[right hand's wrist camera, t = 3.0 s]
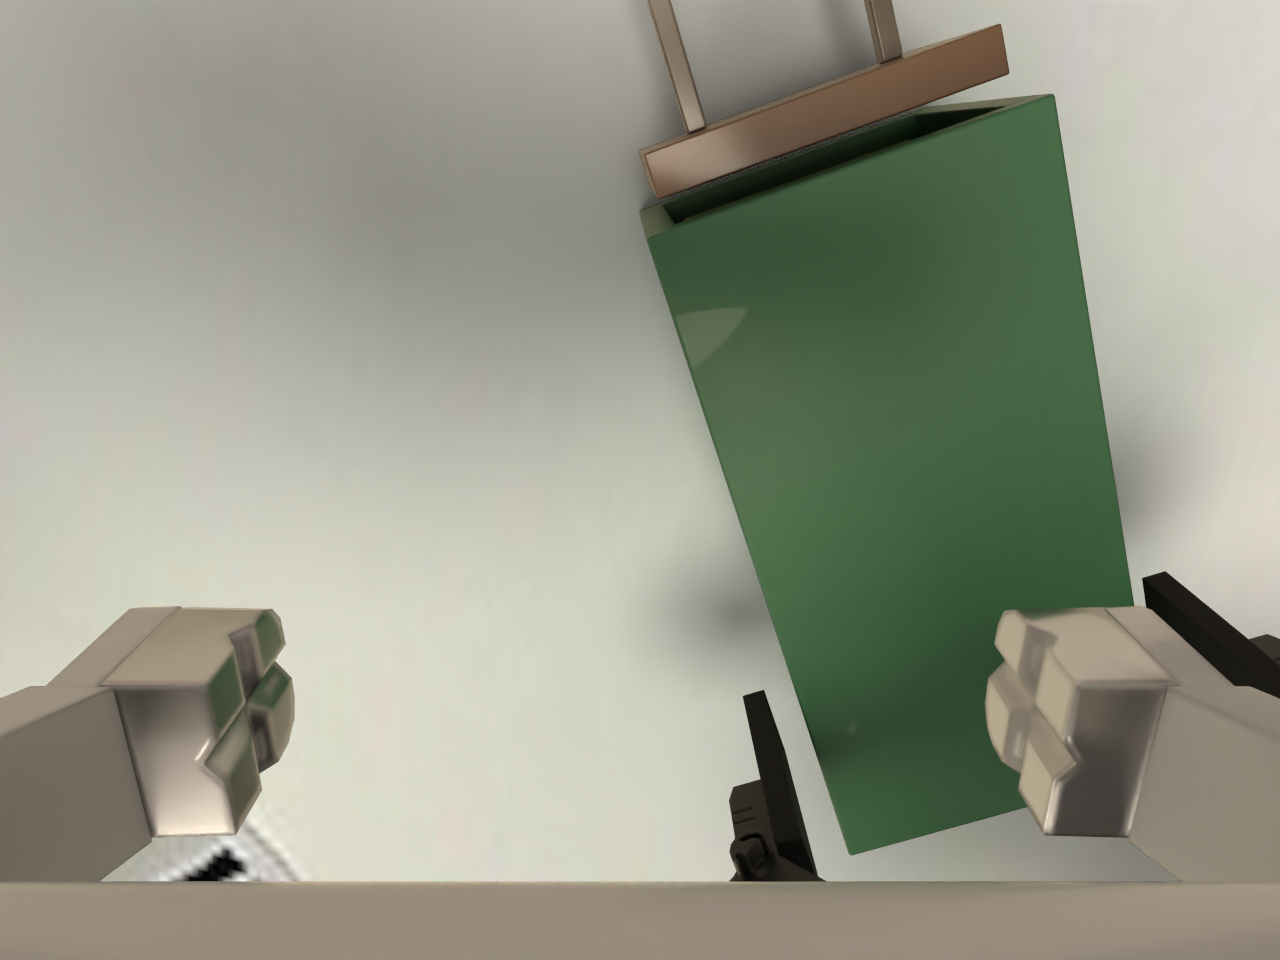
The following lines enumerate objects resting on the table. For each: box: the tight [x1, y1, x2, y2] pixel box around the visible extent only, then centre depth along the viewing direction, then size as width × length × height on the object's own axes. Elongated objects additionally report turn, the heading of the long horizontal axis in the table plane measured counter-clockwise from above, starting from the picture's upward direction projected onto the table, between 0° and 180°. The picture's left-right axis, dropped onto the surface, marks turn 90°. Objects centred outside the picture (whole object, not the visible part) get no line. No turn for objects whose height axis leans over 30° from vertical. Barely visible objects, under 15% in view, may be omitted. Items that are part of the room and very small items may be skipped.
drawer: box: [638, 0, 1009, 221], centre depth 28 cm, size 26×9×7 cm, turn 19°
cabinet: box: [640, 94, 1134, 855], centre depth 30 cm, size 22×10×9 cm, turn 19°
